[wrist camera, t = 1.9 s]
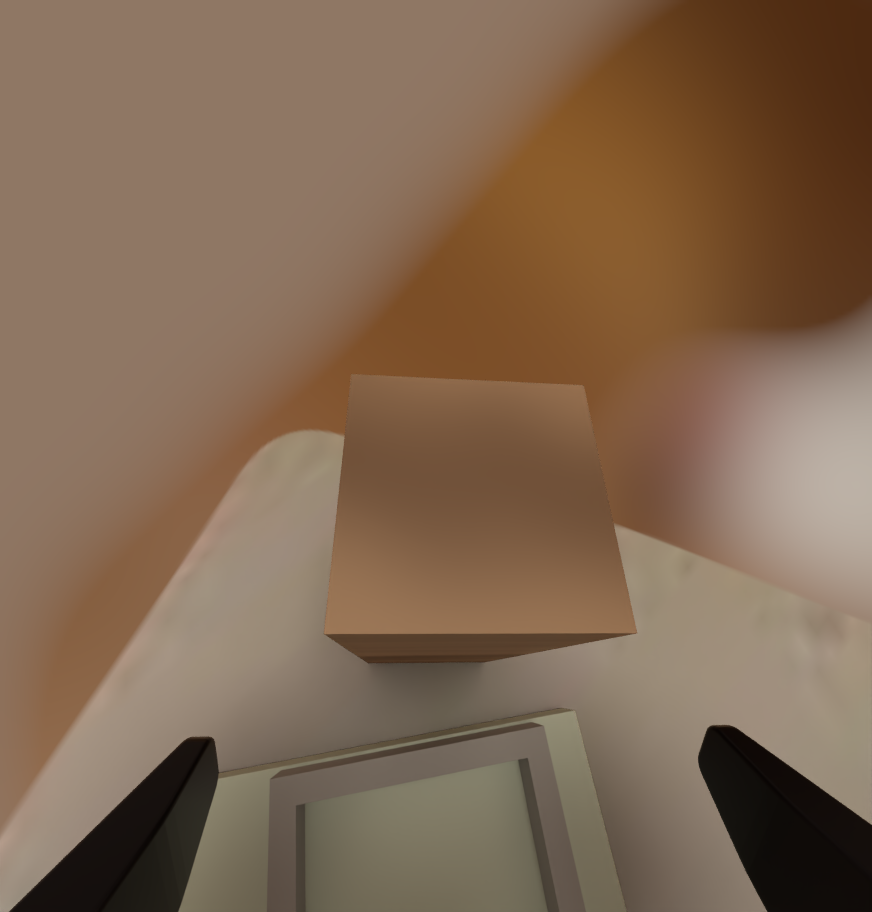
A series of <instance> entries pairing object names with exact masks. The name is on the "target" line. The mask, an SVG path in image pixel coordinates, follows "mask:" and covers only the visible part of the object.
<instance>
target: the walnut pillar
mask: <svg viewBox="0 0 872 912" xmlns="http://www.w3.org/2000/svg"><path fill="white" fill-rule="evenodd" d="M636 633H637V630H636V626H635V621H634V617H633V612H632V607H631V603H630V598H629V593H628V589H627V584H626V580H625V575H624V570H623V566H622V561H621V556H620V552H619V547H618V542H617V538H616V533H615V529H614V524H613V519H612V515H611V510H610V506H609V501H608V497H607V492H606V487H605V482H604V478H603V473H602V469H601V464H600V459H599V454H598V450H597V445H596V441H595V436H594V431H593V427H592V422H591V418H590V413H589V409H588V404H587V399H586V394H585V390H584V386H583V385H565V384H544V383H523V382H500V381H479V380H459V379H440V378H419V377H418V378H417V377H397V376H377V375H355V374H352V375H351V383H350V392H349V401H348V411H347V420H346V429H345V439H344V448H343V458H342V467H341V477H340V486H339V496H338V505H337V515H336V524H335V534H334V543H333V553H332V562H331V572H330V581H329V591H328V600H327V610H326V619H325V629H324V634H325V635H326V636H328V637H329V638H331V639H332V640H334V641H335V642H337V643H338V644H340V645H341V646H343V647H344V648H346V649H348V650H349V651H351V652H352V653H354V654H355V655H357V656H358V657H360V658H361V659H363V660H364V661H366V662H367V663H444V662H488V661H493V660H499V659H504V658H509V657H515V656H520V655H525V654H530V653H536V652H541V651H546V650H551V649H557V648H562V647H567V646H572V645H578V644H583V643H588V642H594V641H599V640H604V639H609V638H615V637H620V636H625V635H630V634H636Z"/></svg>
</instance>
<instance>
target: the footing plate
mask: <svg viewBox="0 0 872 912" xmlns="http://www.w3.org/2000/svg"><path fill="white" fill-rule="evenodd" d="M178 912H627V910H626V906H625V902H624V899H623V895H622V891H621V887H620V883H619V879H618V875H617V871H616V868H615V864H614V860H613V856H612V852H611V848H610V844H609V840H608V837H607V833H606V829H605V825H604V821H603V817H602V813H601V809H600V805H599V802H598V798H597V794H596V790H595V786H594V782H593V778H592V774H591V771H590V767H589V763H588V759H587V755H586V751H585V747H584V743H583V740H582V736H581V732H580V728H579V724H578V720H577V716H576V712H575V710H570V709H564V708H559V709H554V710H548V711H543V712H538V713H533V714H527V715H522V716H517V717H512V718H506V719H501V720H496V721H490V722H485V723H480V724H475V725H469V726H464V727H459V728H454V729H448V730H443V731H438V732H433V733H427V734H422V735H417V736H412V737H406V738H401V739H396V740H391V741H385V742H380V743H375V744H370V745H364V746H359V747H354V748H349V749H343V750H338V751H333V752H328V753H322V754H317V755H312V756H307V757H301V758H296V759H291V760H286V761H280V762H275V763H270V764H265V765H259V766H254V767H249V768H244V769H238V770H233V771H228V772H223V773H219V776H218V782H217V787H216V790H215V794H214V797H213V800H212V804H211V807H210V810H209V814H208V817H207V820H206V824H205V827H204V830H203V834H202V837H201V841H200V844H199V847H198V851H197V854H196V857H195V861H194V864H193V867H192V871H191V874H190V877H189V881H188V884H187V887H186V890H185V894H184V897H183V900H182V903H181V906H180V909H179V911H178Z"/></svg>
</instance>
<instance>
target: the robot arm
mask: <svg viewBox="0 0 872 912" xmlns="http://www.w3.org/2000/svg"><path fill="white" fill-rule="evenodd" d="M698 763H699V768H700V771H701V773H702V776H703V778H704V780H705V782H706V785H707V787H708V789H709V791H710V793H711V796H712V798H713V800H714V802H715V804H716V807H717V809H718V811H719V813H720V816H721V818H722V820H723V822H724V824H725V827H726V829H727V831H728V833H729V835H730V838H731V840H732V842H733V844H734V847H735V849H736V851H737V853H738V855H739V857H740V860H741V862H742V864H743V866H744V868H745V870H746V872H747V874H748V876H749V878H750V880H751V882H752V884H753V886H754V888H755V890H756V892H757V893H758V895H759V897H760V899H761V901H762V903H763V904H764V906H765V908H766V910H767V912H872V825H871V824H870V823H868V822H867V821H866V820H864V819H863V818H861V817H860V816H859V815H857V814H856V813H854V812H853V811H852V810H850V809H849V808H847V807H846V806H845V805H843V804H842V803H840V802H839V801H838V800H836V799H835V798H833V797H832V796H831V795H829V794H828V793H826V792H825V791H824V790H822V789H821V788H819V787H818V786H817V785H815V784H814V783H812V782H811V781H810V780H808V779H807V778H806V777H804V776H803V775H801V774H800V773H799V772H797V771H796V770H794V769H793V768H792V767H790V766H789V765H787V764H786V763H785V762H783V761H782V760H780V759H779V758H778V757H776V756H775V755H773V754H772V753H771V752H769V751H768V750H766V749H765V748H764V747H762V746H761V745H759V744H758V743H757V742H755V741H754V740H752V739H751V738H750V737H748V736H747V735H745V734H744V733H743V732H741V731H740V730H738V729H737V728H735V727H733V726H730V725H712V726H710V727H708V729H707V731H706V734H705V737H704V740H703V743H702V746H701V749H700V752H699V755H698ZM218 776H219V769H218V761H217V754H216V747H215V741H214V739H213V738H212V737H190V738H188V739H186V740H184V741H183V742H182V743H181V744H180V745H179V746H178V747H177V748H176V749H175V750H174V751H173V752H172V753H171V754H170V755H169V756H168V757H167V758H166V759H165V760H164V761H163V762H162V763H161V764H160V765H158V766H157V767H156V768H155V769H154V770H153V771H152V772H151V773H150V774H149V775H148V776H147V777H146V778H145V779H144V780H143V781H142V782H141V783H140V784H139V785H138V786H137V787H136V788H135V789H134V790H133V791H132V792H131V793H130V794H129V795H128V796H127V797H126V798H125V799H124V800H123V801H122V802H121V803H120V804H119V805H118V806H117V807H116V808H115V809H114V810H112V811H111V812H110V813H109V814H108V815H107V816H106V817H105V818H104V819H103V820H102V821H101V822H100V823H99V824H98V825H97V826H96V827H95V828H94V829H93V830H92V831H91V832H90V833H89V834H88V835H87V836H86V837H85V838H84V839H83V840H82V841H81V842H80V843H79V844H78V845H77V846H76V847H75V848H74V849H73V850H72V851H71V852H70V853H69V854H68V855H66V856H65V857H64V858H63V859H62V860H61V861H60V862H59V863H58V864H57V865H56V866H55V867H54V868H53V869H52V870H51V871H50V872H49V873H48V874H47V875H46V876H45V877H44V878H43V879H42V880H41V881H40V882H39V883H38V884H37V885H36V886H35V887H34V888H33V889H32V890H31V891H30V892H29V893H28V894H27V895H26V896H25V897H24V898H23V899H22V900H20V901H19V902H18V903H17V904H16V905H15V906H14V907H13V908H12V909H11V910H10V911H9V912H178V911H179V909H180V906H181V903H182V900H183V897H184V894H185V890H186V887H187V884H188V881H189V877H190V874H191V871H192V867H193V864H194V861H195V857H196V854H197V851H198V847H199V844H200V841H201V837H202V834H203V830H204V827H205V824H206V820H207V817H208V814H209V810H210V807H211V804H212V800H213V797H214V794H215V790H216V787H217V782H218Z"/></svg>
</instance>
